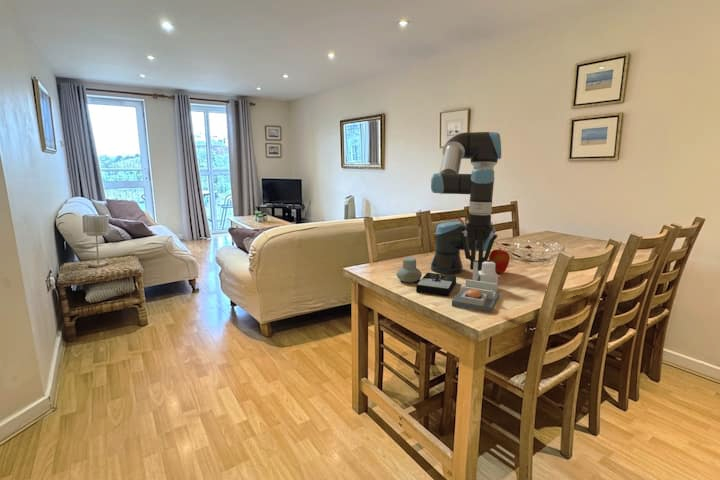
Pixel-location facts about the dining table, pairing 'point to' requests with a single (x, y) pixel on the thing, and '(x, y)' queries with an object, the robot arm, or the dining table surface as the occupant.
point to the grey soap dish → (482, 304)
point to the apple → (500, 260)
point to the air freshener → (409, 271)
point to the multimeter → (436, 284)
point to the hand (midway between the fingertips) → (475, 278)
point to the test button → (474, 293)
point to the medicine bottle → (488, 272)
